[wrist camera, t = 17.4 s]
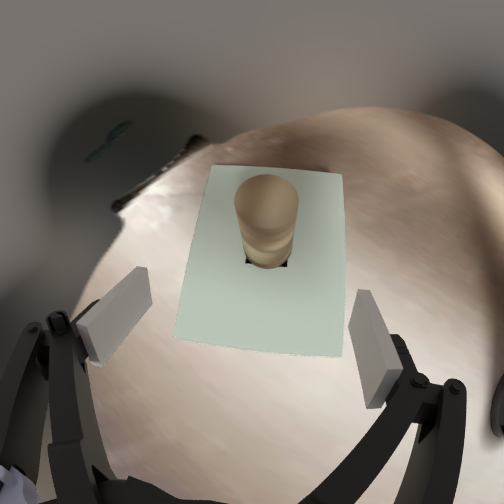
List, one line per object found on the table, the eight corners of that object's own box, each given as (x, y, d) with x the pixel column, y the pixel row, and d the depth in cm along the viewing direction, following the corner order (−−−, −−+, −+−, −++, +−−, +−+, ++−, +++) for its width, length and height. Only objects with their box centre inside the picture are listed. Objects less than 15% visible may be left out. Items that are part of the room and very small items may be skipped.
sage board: (335, 193, 43) (341, 174, 38) (332, 357, 33) (341, 356, 28) (217, 183, 45) (211, 164, 40) (185, 341, 35) (172, 337, 30)
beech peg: (291, 241, 39) (300, 176, 26) (287, 281, 37) (297, 231, 23) (249, 238, 40) (238, 172, 26) (243, 277, 38) (228, 225, 24)
